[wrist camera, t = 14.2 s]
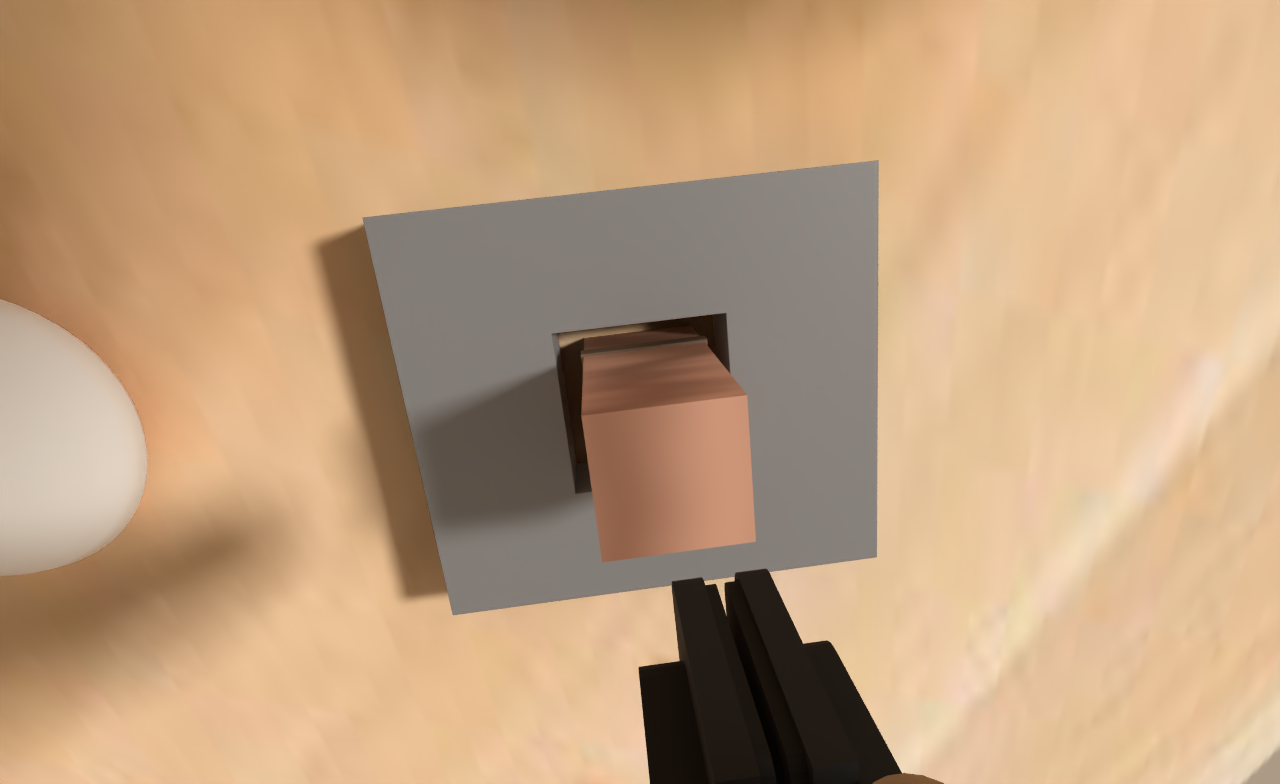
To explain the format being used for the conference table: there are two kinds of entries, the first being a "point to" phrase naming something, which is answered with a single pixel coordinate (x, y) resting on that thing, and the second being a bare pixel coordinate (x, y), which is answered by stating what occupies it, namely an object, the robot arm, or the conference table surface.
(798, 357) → the board
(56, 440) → the flower in vase
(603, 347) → the peg
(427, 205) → the conference table surface
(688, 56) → the conference table surface
